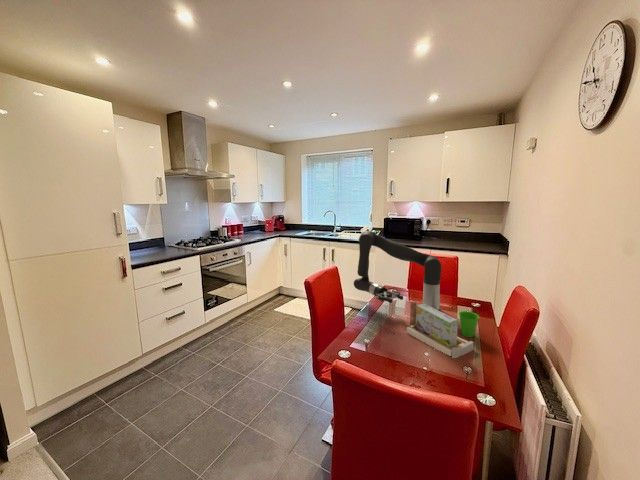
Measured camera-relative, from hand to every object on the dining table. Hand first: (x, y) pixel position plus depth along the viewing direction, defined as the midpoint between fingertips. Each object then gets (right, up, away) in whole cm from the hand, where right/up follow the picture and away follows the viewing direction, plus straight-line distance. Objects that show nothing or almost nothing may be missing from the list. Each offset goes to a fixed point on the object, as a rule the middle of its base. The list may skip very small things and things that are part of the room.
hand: (397, 299), depth 151 cm
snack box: (+13, -16, -20) cm, 28 cm away
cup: (+31, -15, -16) cm, 38 cm away
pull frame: (+12, -15, -18) cm, 27 cm away
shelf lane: (+14, -16, -21) cm, 29 cm away
